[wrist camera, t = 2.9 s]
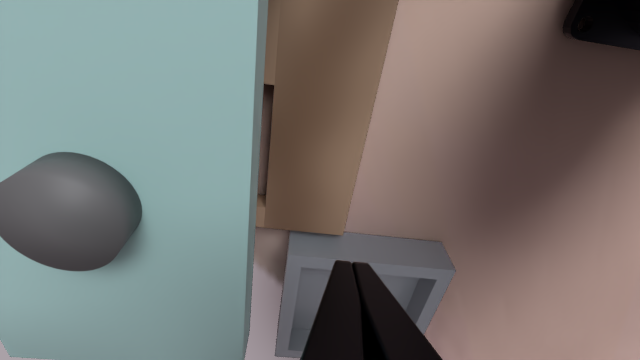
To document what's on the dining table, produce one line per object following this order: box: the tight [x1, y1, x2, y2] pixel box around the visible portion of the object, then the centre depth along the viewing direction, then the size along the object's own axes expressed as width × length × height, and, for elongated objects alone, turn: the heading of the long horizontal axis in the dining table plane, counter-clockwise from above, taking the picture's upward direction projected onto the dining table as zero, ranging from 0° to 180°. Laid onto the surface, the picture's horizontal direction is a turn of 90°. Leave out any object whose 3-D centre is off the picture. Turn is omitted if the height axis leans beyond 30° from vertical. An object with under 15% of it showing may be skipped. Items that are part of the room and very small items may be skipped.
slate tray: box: [275, 230, 456, 358], centre depth 18 cm, size 8×8×2 cm
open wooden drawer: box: [255, 0, 399, 236], centre depth 11 cm, size 18×12×2 cm
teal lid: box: [0, 0, 268, 360], centre depth 8 cm, size 6×11×6 cm, turn 172°
